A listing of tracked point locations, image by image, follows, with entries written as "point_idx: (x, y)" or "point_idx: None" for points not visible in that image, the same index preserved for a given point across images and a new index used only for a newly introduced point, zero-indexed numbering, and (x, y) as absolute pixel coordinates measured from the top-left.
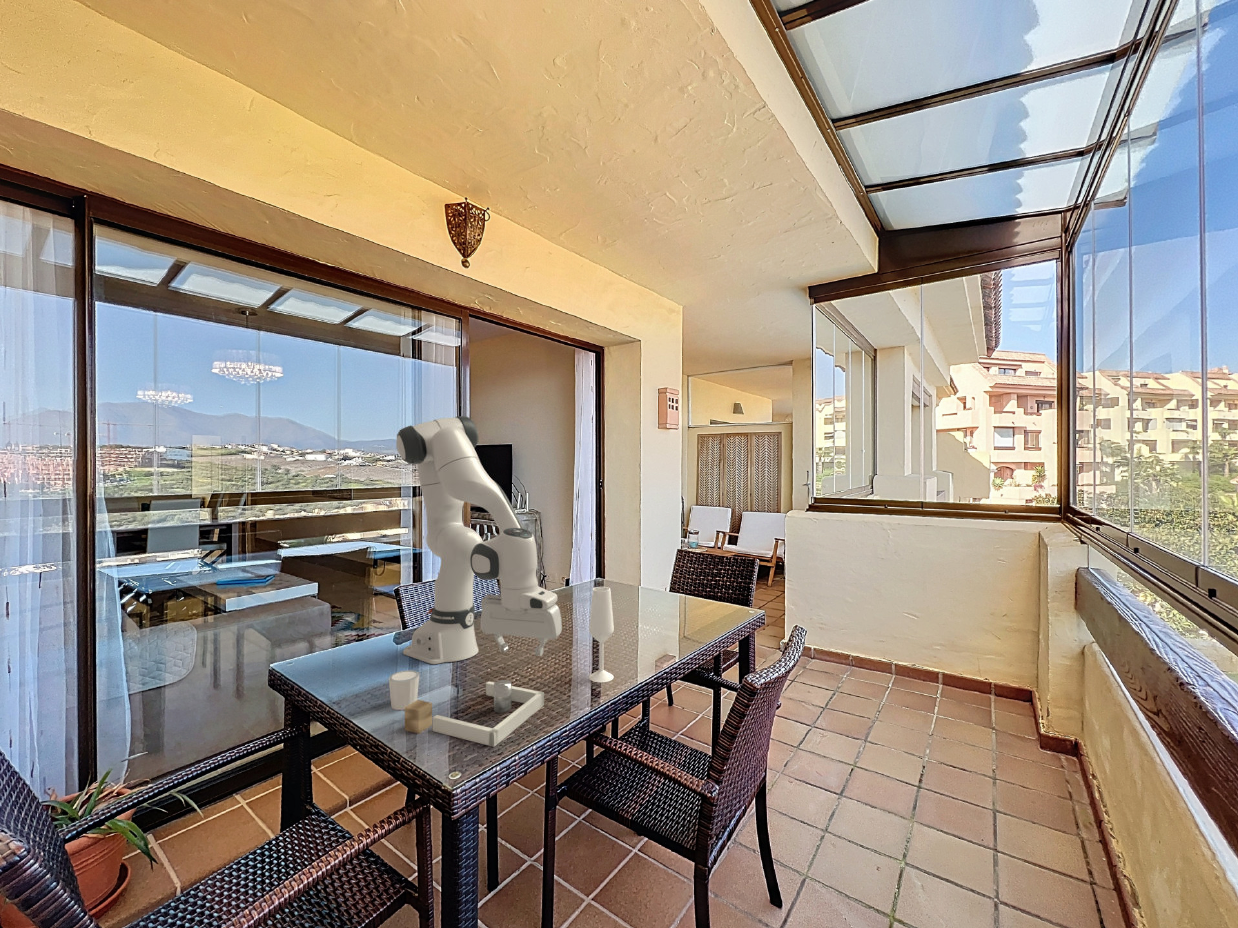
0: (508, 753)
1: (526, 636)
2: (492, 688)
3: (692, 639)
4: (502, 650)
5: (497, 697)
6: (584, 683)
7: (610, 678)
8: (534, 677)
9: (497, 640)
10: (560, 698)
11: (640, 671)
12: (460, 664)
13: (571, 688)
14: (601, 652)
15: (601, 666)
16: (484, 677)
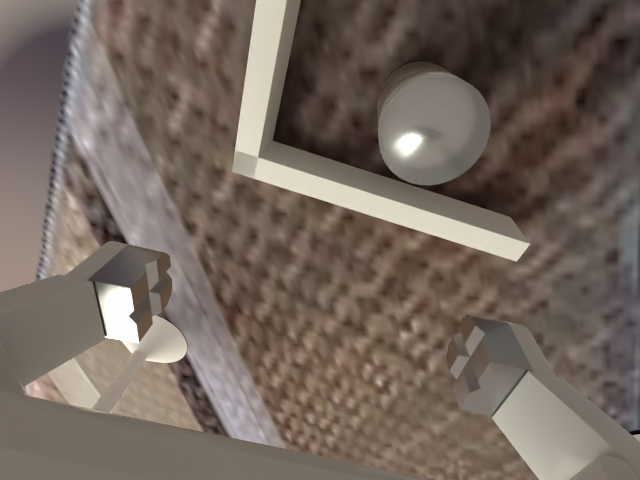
0: None
1: (104, 419)
2: (489, 223)
3: None
4: (496, 326)
5: (446, 71)
6: (180, 305)
7: None
8: (349, 339)
9: (606, 429)
10: (211, 208)
11: (71, 363)
12: (628, 416)
13: (205, 276)
14: (96, 406)
15: (127, 363)
16: None
